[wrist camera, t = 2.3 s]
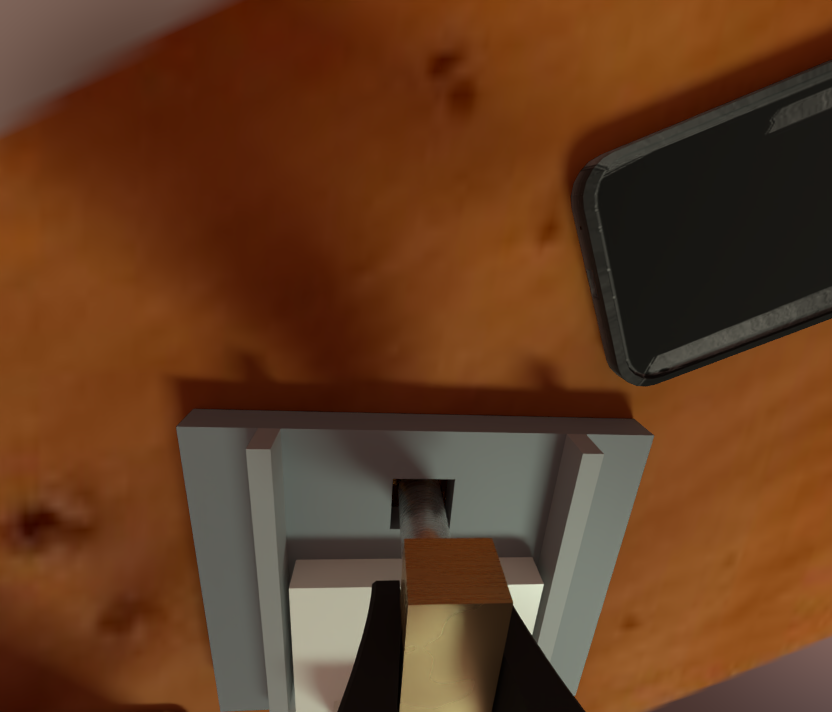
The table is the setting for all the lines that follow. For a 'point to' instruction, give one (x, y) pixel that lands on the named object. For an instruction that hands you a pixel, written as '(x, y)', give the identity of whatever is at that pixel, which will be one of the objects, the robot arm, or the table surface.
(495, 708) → the robot arm
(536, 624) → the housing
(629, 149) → the phone
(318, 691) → the cover
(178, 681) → the table surface
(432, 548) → the hammer
